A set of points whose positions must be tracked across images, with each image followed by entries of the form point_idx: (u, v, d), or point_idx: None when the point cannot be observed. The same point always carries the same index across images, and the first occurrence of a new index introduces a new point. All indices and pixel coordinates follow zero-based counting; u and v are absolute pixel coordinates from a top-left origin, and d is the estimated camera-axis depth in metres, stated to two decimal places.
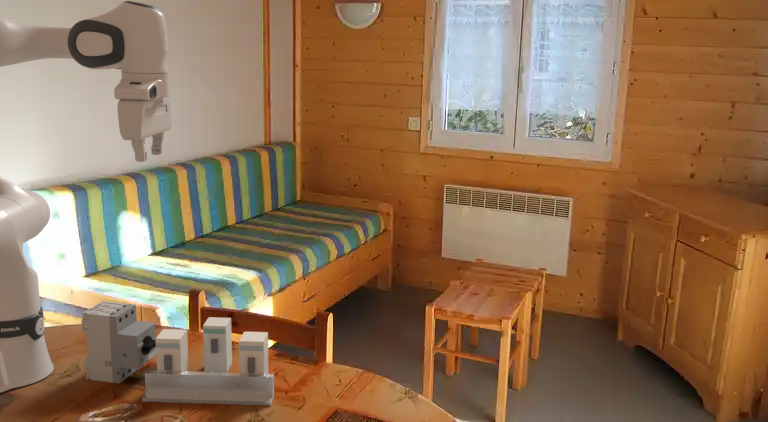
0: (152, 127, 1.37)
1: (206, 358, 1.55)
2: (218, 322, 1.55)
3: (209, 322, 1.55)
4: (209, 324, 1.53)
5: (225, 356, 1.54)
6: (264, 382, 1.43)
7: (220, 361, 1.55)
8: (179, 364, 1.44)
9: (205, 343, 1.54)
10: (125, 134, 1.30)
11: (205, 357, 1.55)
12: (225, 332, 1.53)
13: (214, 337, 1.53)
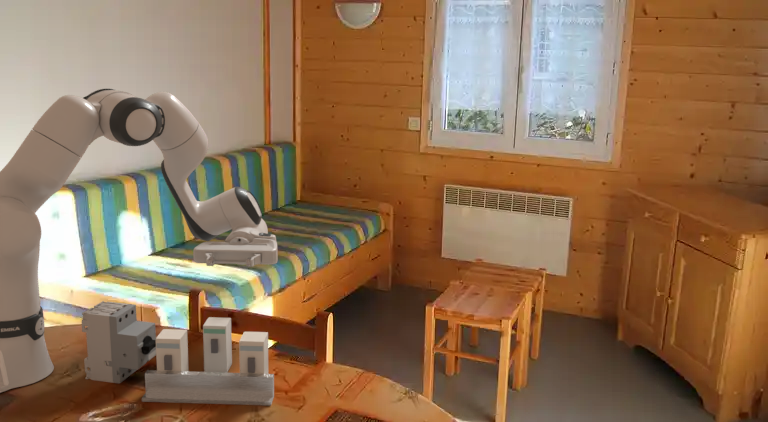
0: None
1: (206, 358, 1.55)
2: (218, 322, 1.55)
3: (209, 321, 1.55)
4: (209, 324, 1.53)
5: (225, 356, 1.54)
6: (264, 382, 1.43)
7: (220, 361, 1.55)
8: (179, 364, 1.44)
9: (205, 343, 1.54)
10: (276, 253, 1.70)
11: (205, 357, 1.55)
12: (225, 332, 1.53)
13: (214, 337, 1.53)
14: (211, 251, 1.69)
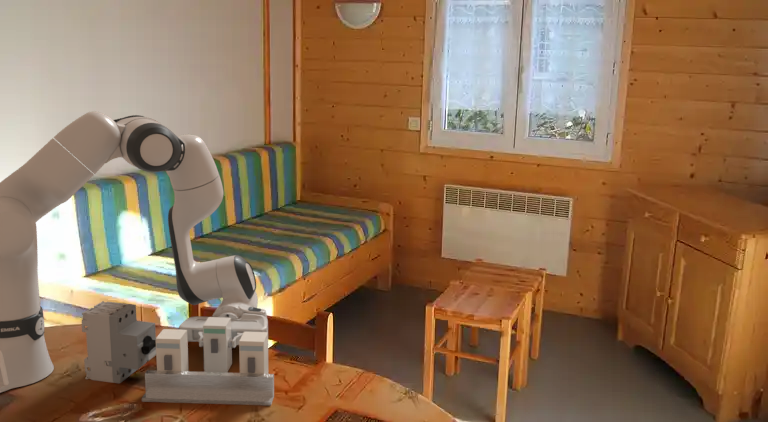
0: None
1: (206, 358, 1.55)
2: (218, 322, 1.55)
3: (209, 321, 1.55)
4: (209, 324, 1.53)
5: (225, 356, 1.54)
6: (264, 382, 1.43)
7: (220, 360, 1.55)
8: (179, 364, 1.44)
9: (205, 343, 1.54)
10: None
11: (205, 357, 1.55)
12: (225, 332, 1.53)
13: (214, 337, 1.53)
14: (197, 329, 1.60)
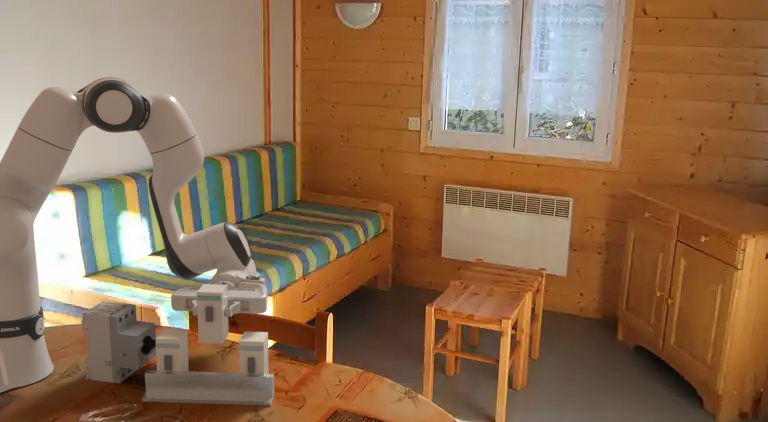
0: None
1: (200, 327, 1.43)
2: (214, 289, 1.44)
3: (204, 288, 1.44)
4: (204, 291, 1.42)
5: (221, 325, 1.43)
6: (264, 382, 1.43)
7: (215, 330, 1.44)
8: (179, 364, 1.44)
9: (199, 311, 1.43)
10: (265, 301, 1.50)
11: (199, 326, 1.43)
12: (221, 299, 1.42)
13: (209, 304, 1.42)
14: (191, 298, 1.49)
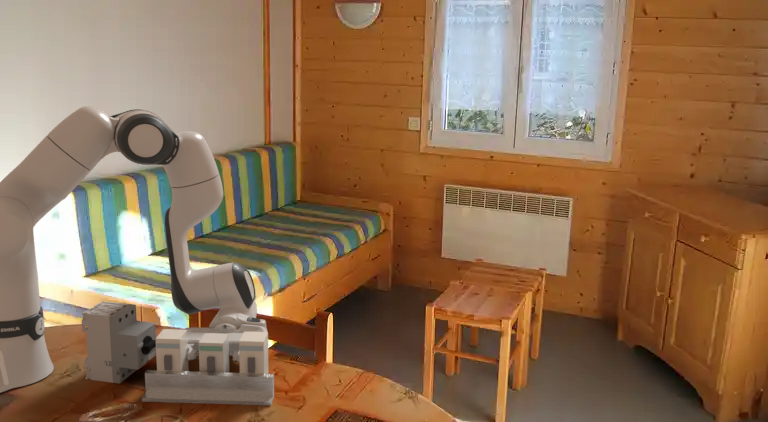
0: None
1: None
2: (215, 339, 1.46)
3: (205, 338, 1.46)
4: (206, 341, 1.45)
5: None
6: (264, 382, 1.43)
7: None
8: (179, 364, 1.44)
9: (201, 361, 1.45)
10: None
11: None
12: (222, 349, 1.44)
13: (210, 354, 1.45)
14: (193, 341, 1.51)
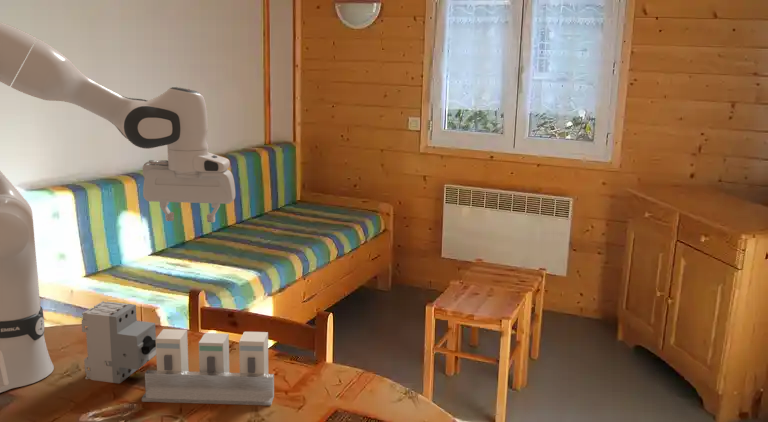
0: None
1: None
2: (215, 339, 1.46)
3: (205, 338, 1.46)
4: (206, 341, 1.45)
5: None
6: (264, 382, 1.43)
7: None
8: (179, 364, 1.44)
9: (201, 361, 1.45)
10: (233, 198, 1.59)
11: None
12: (222, 349, 1.44)
13: (211, 354, 1.45)
14: None
